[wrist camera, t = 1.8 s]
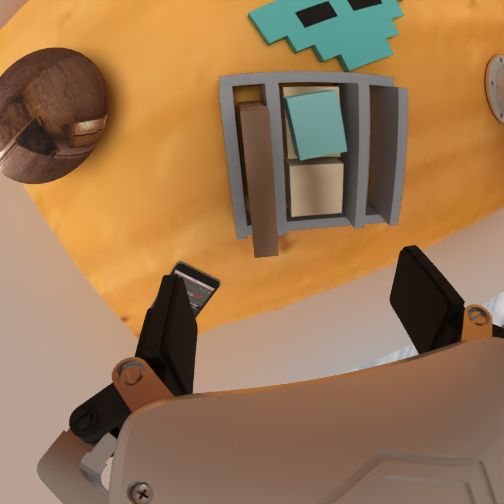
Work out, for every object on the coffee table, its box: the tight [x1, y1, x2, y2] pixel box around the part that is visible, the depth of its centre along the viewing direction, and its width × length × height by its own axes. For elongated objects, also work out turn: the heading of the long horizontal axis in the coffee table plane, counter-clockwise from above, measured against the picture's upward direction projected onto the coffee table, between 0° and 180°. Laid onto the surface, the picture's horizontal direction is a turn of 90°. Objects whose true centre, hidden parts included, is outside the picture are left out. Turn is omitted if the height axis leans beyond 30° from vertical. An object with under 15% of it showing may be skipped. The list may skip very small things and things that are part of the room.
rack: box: [219, 71, 408, 239], centre depth 30 cm, size 19×18×7 cm
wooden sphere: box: [0, 48, 108, 184], centre depth 22 cm, size 15×15×15 cm
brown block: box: [239, 101, 278, 258], centre depth 27 cm, size 2×12×14 cm, turn 5°
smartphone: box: [151, 261, 220, 318], centre depth 45 cm, size 7×1×15 cm
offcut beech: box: [283, 155, 343, 217], centre depth 33 cm, size 6×6×5 cm
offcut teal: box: [282, 90, 347, 161], centre depth 27 cm, size 5×6×3 cm
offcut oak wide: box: [279, 86, 341, 159], centre depth 30 cm, size 6×8×4 cm
